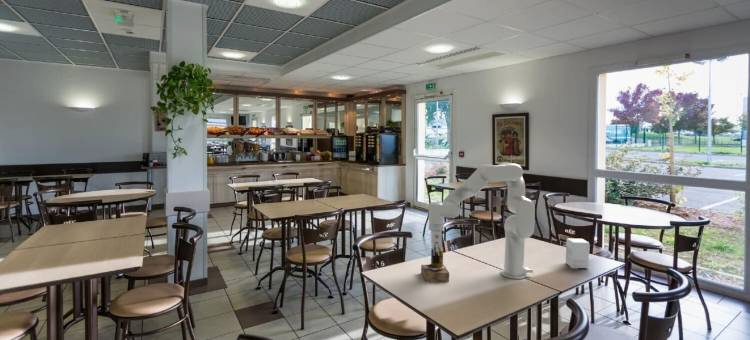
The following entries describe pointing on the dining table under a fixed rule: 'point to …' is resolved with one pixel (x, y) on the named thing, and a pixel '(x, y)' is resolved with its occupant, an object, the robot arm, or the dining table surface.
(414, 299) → the dining table surface
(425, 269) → the riser
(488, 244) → the dining table surface
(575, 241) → the supplement box
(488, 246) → the dining table surface
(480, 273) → the dining table surface
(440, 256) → the condiment
